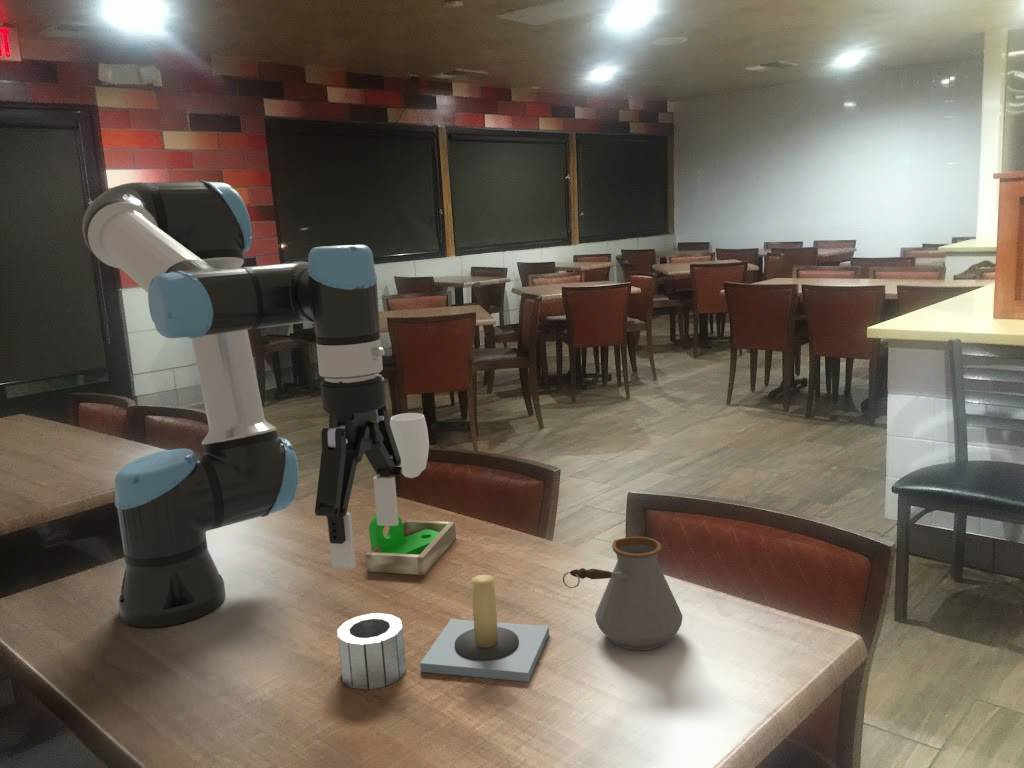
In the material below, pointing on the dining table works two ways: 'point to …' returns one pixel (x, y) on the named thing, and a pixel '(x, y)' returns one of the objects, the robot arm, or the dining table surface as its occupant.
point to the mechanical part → (399, 539)
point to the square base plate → (486, 642)
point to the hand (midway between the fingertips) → (367, 544)
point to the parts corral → (411, 561)
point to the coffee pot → (635, 597)
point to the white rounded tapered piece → (411, 442)
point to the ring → (371, 651)
